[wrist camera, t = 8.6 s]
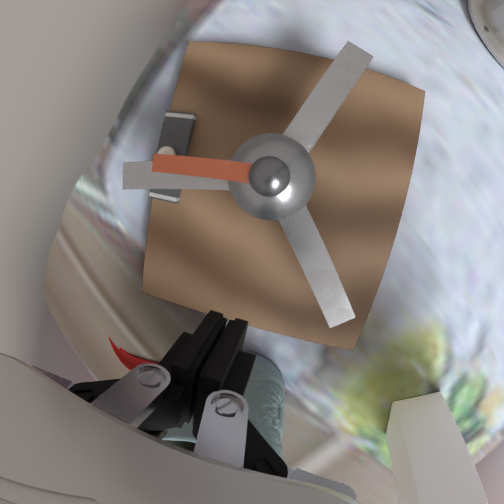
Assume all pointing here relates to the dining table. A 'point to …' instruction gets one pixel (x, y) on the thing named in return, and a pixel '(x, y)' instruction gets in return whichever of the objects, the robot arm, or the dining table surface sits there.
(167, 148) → the level ball
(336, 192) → the board
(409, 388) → the dining table surface
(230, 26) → the dining table surface
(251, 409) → the grey-green cup
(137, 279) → the dining table surface
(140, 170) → the capstan
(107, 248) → the dining table surface
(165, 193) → the level window
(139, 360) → the cayenne pepper
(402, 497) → the milk
